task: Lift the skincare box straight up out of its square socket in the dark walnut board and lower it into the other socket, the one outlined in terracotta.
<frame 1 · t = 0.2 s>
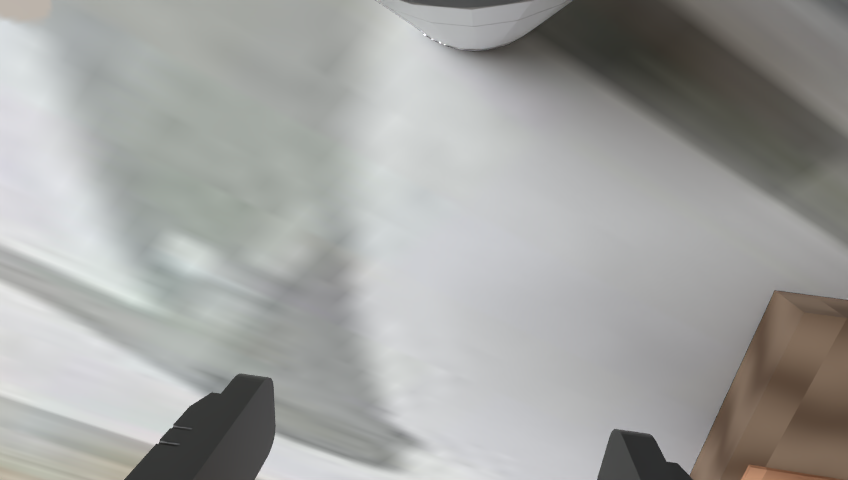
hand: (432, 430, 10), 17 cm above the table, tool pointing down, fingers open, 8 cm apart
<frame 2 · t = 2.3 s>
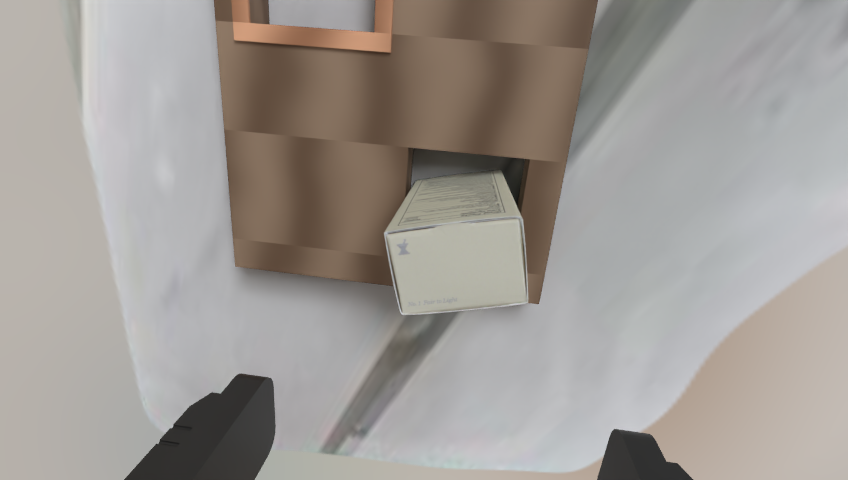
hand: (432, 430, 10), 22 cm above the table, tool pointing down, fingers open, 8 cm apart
socket board: (399, 91, 28), on the table
skincare box: (463, 201, 31), resting in socket board
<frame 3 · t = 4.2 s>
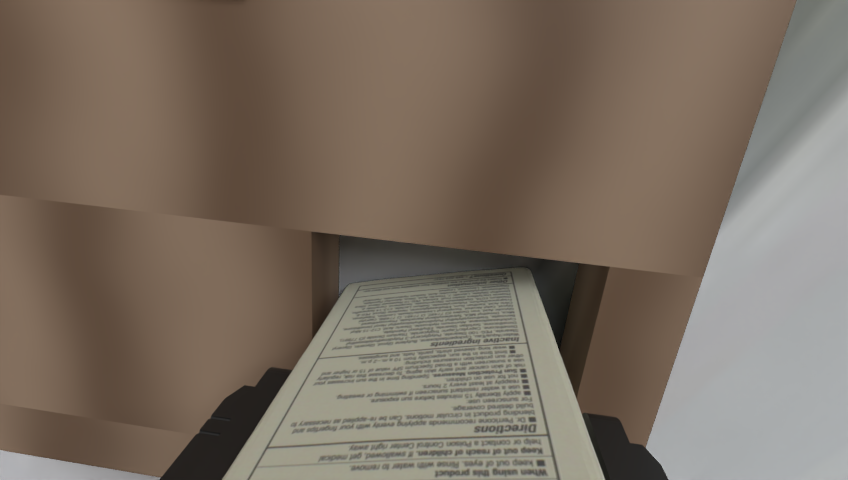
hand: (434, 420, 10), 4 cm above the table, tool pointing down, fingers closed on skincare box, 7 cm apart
socket board: (301, 96, 13), on the table
skincare box: (447, 323, 15), resting in socket board, touching gripper
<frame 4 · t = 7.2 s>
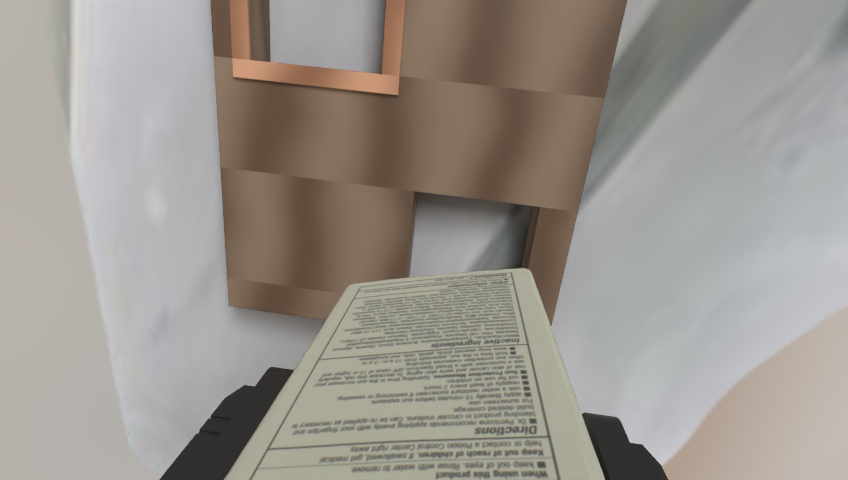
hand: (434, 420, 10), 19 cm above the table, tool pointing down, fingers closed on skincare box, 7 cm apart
socket board: (404, 131, 27), on the table
skincare box: (448, 324, 15), point 15 cm above the table, touching gripper
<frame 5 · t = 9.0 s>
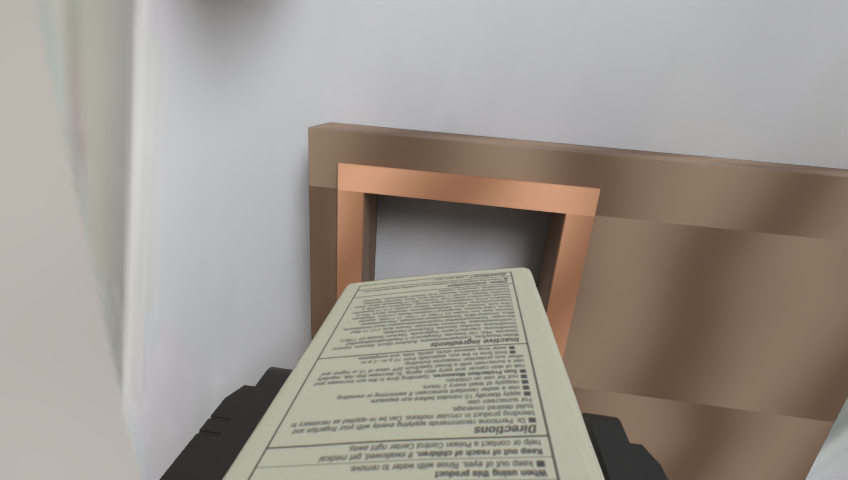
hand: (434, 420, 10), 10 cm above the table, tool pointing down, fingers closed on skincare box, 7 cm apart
socket board: (539, 404, 22), on the table
skincare box: (447, 323, 15), point 5 cm above the table, touching gripper
when the fingers open (6 cm above the table, at t = 10.5 s): skincare box drops 1 cm, resting in socket board.
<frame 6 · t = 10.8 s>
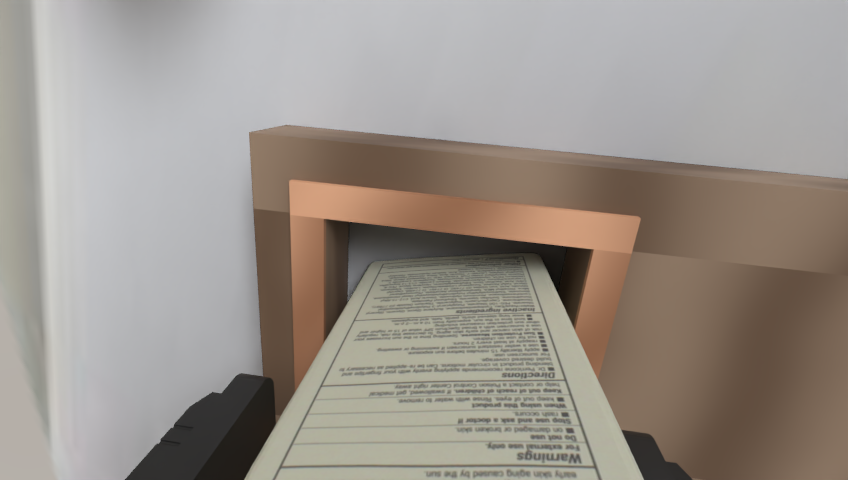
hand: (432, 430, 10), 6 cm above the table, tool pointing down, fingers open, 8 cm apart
socket board: (550, 470, 18), on the table
skincare box: (460, 303, 16), resting in socket board
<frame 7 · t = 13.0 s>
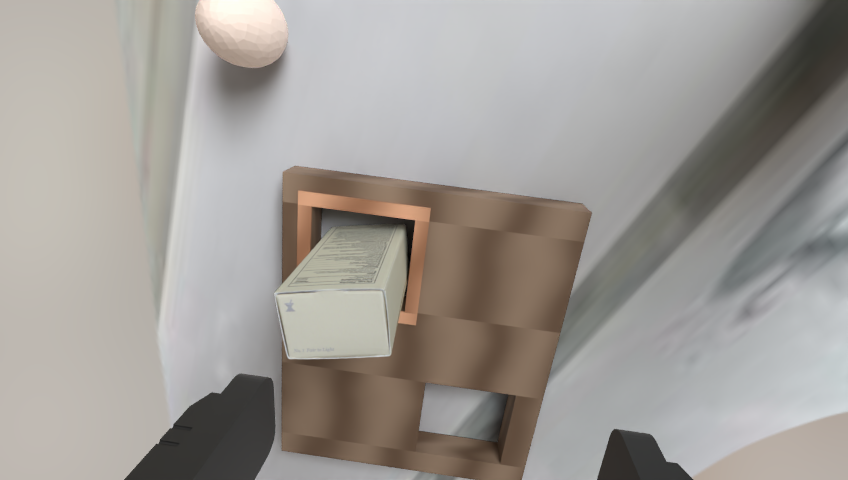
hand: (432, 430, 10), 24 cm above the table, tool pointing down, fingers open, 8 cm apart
egg: (269, 34, 30), on the table
socket board: (418, 331, 37), on the table
skincare box: (373, 247, 35), resting in socket board
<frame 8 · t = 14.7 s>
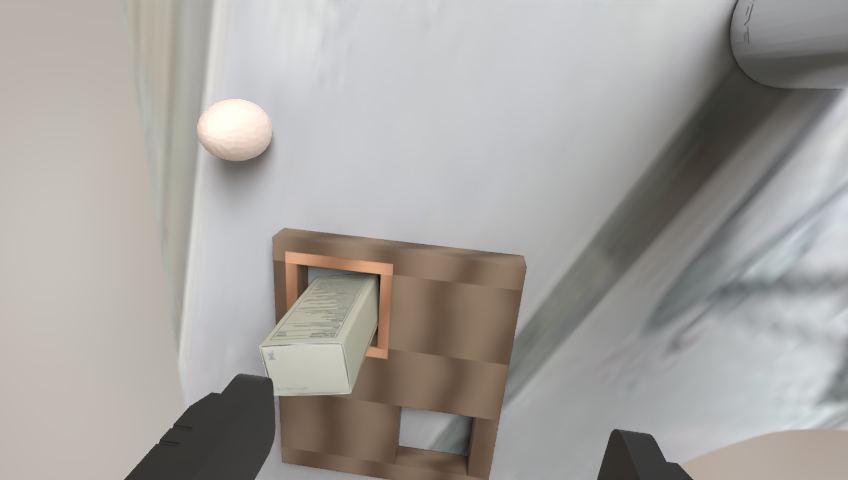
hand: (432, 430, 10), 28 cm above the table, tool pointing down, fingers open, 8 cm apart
egg: (259, 126, 37), on the table
socket board: (393, 361, 43), on the table
skincare box: (351, 292, 41), resting in socket board
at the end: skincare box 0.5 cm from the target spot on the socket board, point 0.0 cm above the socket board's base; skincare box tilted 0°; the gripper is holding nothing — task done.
